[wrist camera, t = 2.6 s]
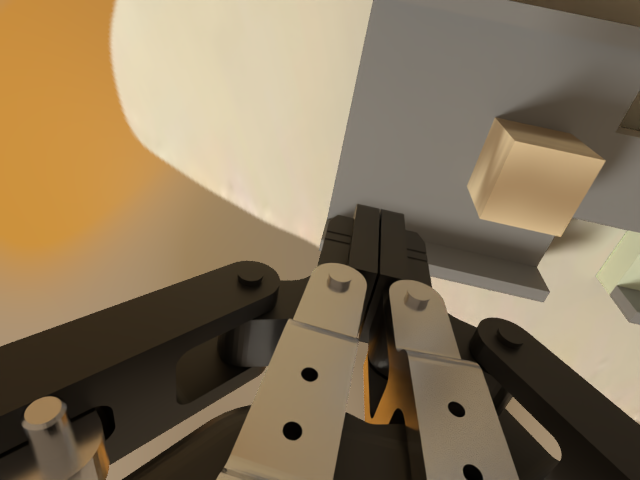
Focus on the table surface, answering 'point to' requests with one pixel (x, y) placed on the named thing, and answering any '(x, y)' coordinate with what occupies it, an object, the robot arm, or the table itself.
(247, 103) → the table surface
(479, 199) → the birch block
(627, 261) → the trap box
